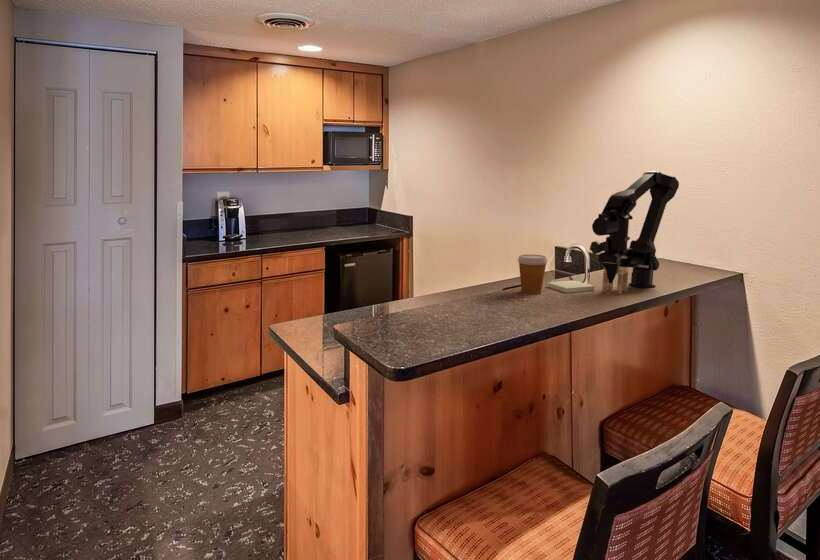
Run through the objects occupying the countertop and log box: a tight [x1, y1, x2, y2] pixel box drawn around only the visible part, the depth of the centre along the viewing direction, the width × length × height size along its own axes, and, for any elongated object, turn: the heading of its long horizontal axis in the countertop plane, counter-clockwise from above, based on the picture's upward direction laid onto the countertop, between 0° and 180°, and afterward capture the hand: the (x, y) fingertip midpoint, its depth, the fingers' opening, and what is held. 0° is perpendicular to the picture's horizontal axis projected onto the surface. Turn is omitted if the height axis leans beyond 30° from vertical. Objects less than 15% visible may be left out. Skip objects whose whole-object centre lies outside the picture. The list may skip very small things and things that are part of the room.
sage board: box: [546, 279, 595, 294], centre depth 192 cm, size 11×11×2 cm
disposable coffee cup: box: [517, 253, 548, 295], centre depth 185 cm, size 10×10×12 cm
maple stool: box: [601, 266, 630, 295], centre depth 187 cm, size 6×6×8 cm
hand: (615, 280), depth 187 cm, fingers open, 8 cm apart
